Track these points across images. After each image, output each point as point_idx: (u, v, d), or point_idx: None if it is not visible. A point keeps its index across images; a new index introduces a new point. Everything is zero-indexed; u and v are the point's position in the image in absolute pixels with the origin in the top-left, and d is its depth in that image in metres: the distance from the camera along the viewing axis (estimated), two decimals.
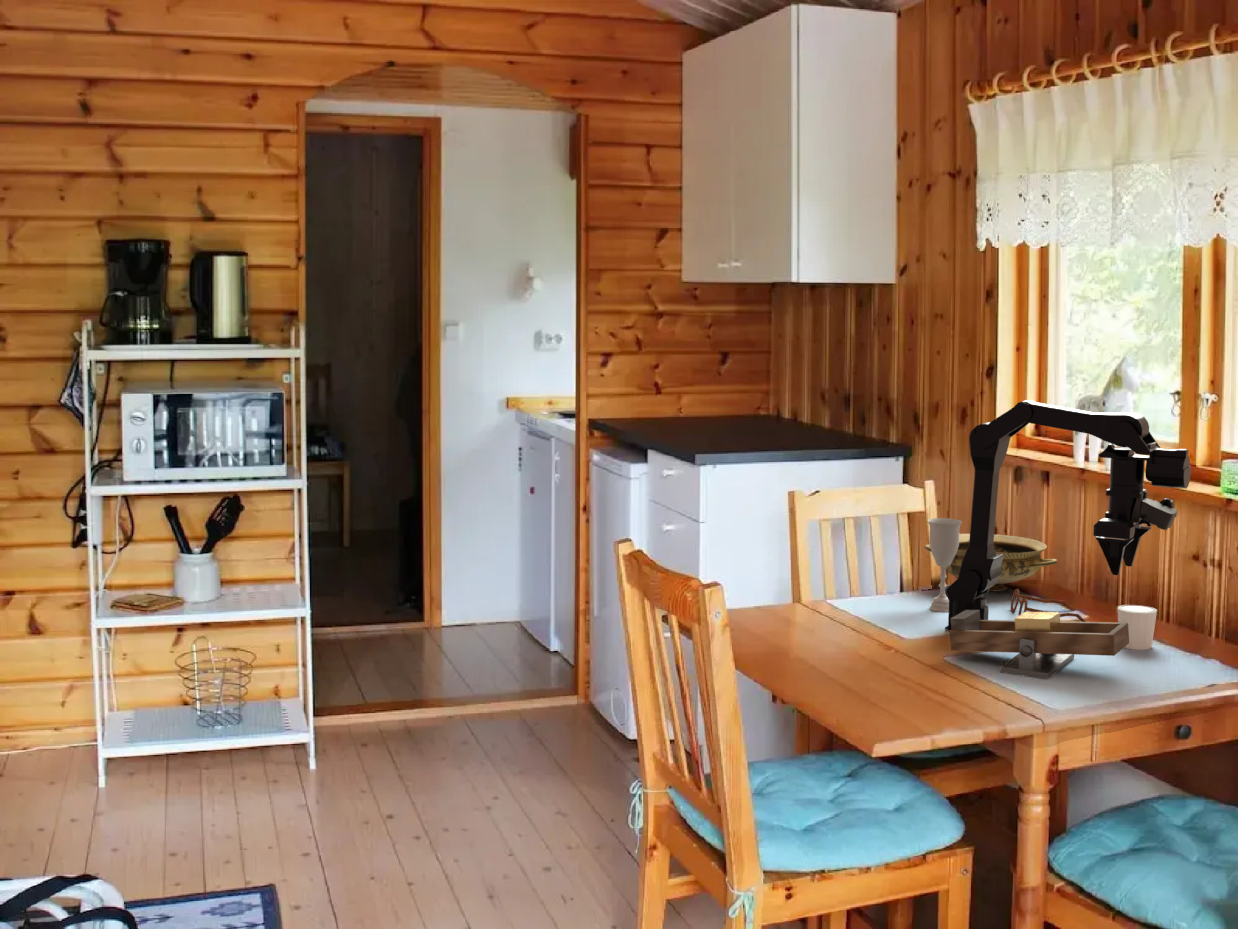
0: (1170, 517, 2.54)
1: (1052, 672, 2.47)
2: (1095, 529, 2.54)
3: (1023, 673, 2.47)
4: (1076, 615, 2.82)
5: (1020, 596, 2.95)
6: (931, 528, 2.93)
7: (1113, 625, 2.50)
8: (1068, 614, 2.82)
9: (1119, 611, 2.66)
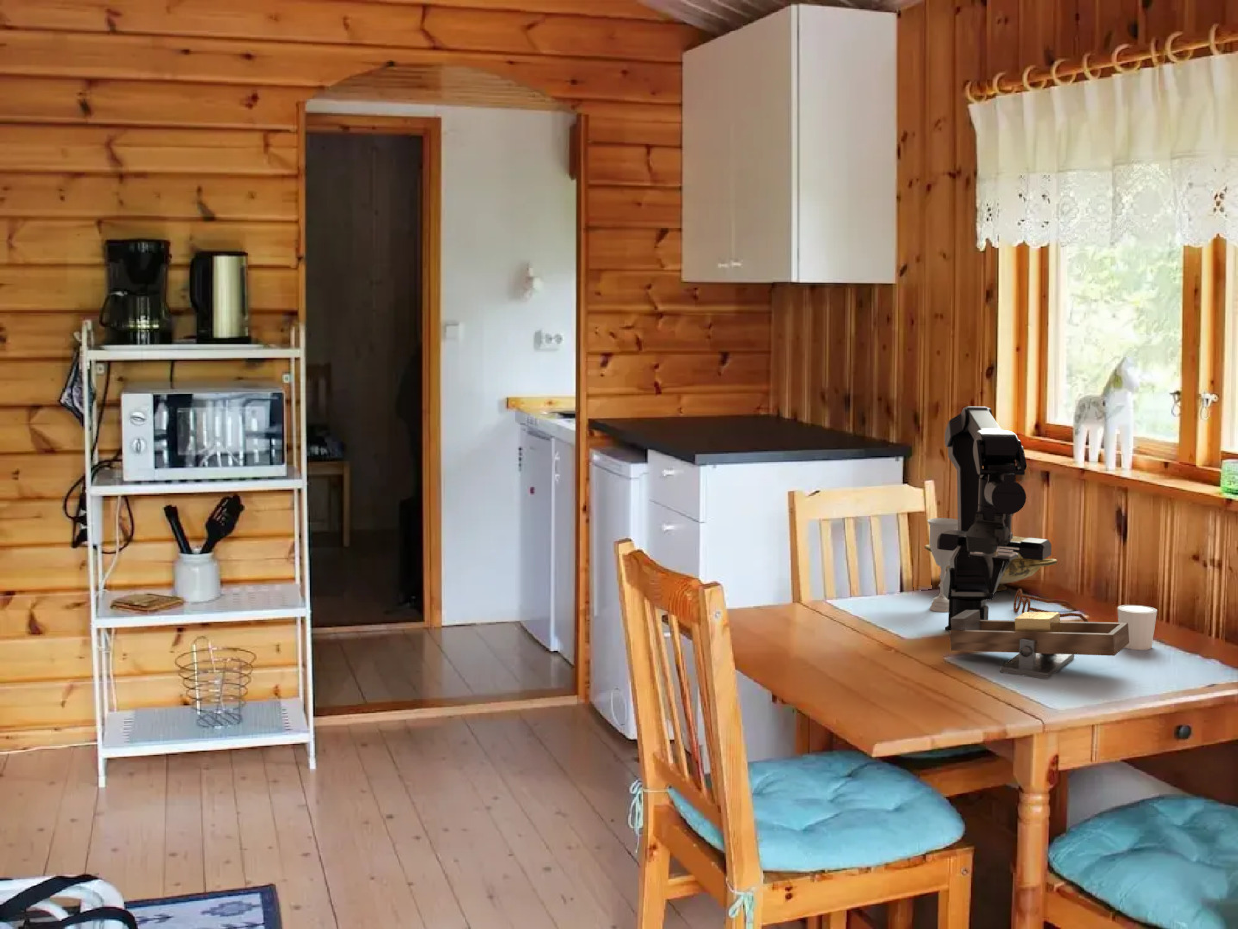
0: (967, 539, 2.49)
1: (1052, 672, 2.47)
2: None
3: (1023, 673, 2.47)
4: (1079, 615, 2.82)
5: (1023, 596, 2.95)
6: (931, 528, 2.93)
7: (1113, 625, 2.50)
8: (1071, 614, 2.82)
9: (1119, 611, 2.66)
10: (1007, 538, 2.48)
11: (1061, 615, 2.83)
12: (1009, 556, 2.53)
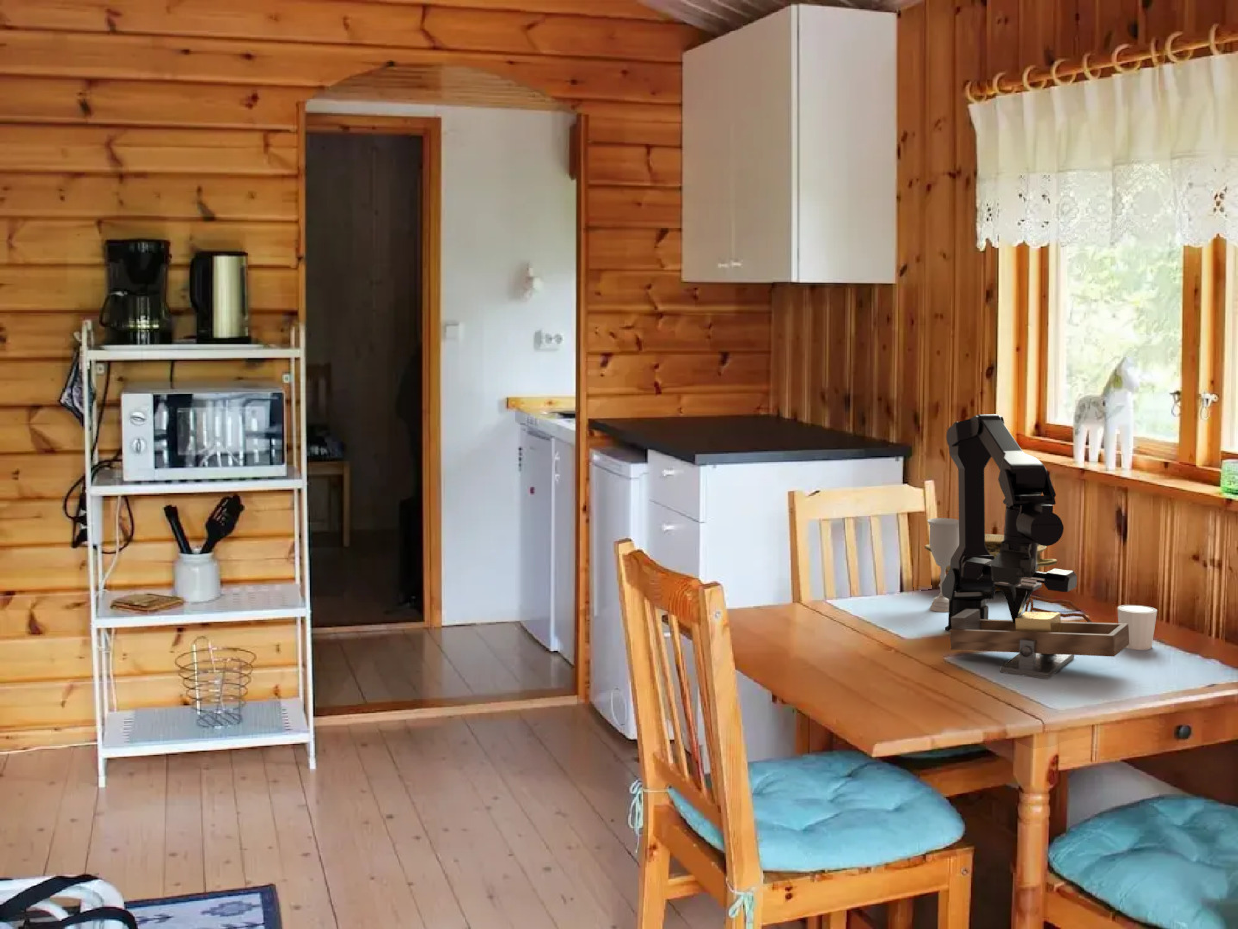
0: (992, 569, 2.47)
1: (1052, 672, 2.47)
2: None
3: (1023, 673, 2.47)
4: (1082, 615, 2.82)
5: None
6: (931, 528, 2.93)
7: (1113, 626, 2.50)
8: (1074, 614, 2.82)
9: (1119, 611, 2.66)
10: (1033, 569, 2.46)
11: (1064, 615, 2.82)
12: (1032, 586, 2.51)
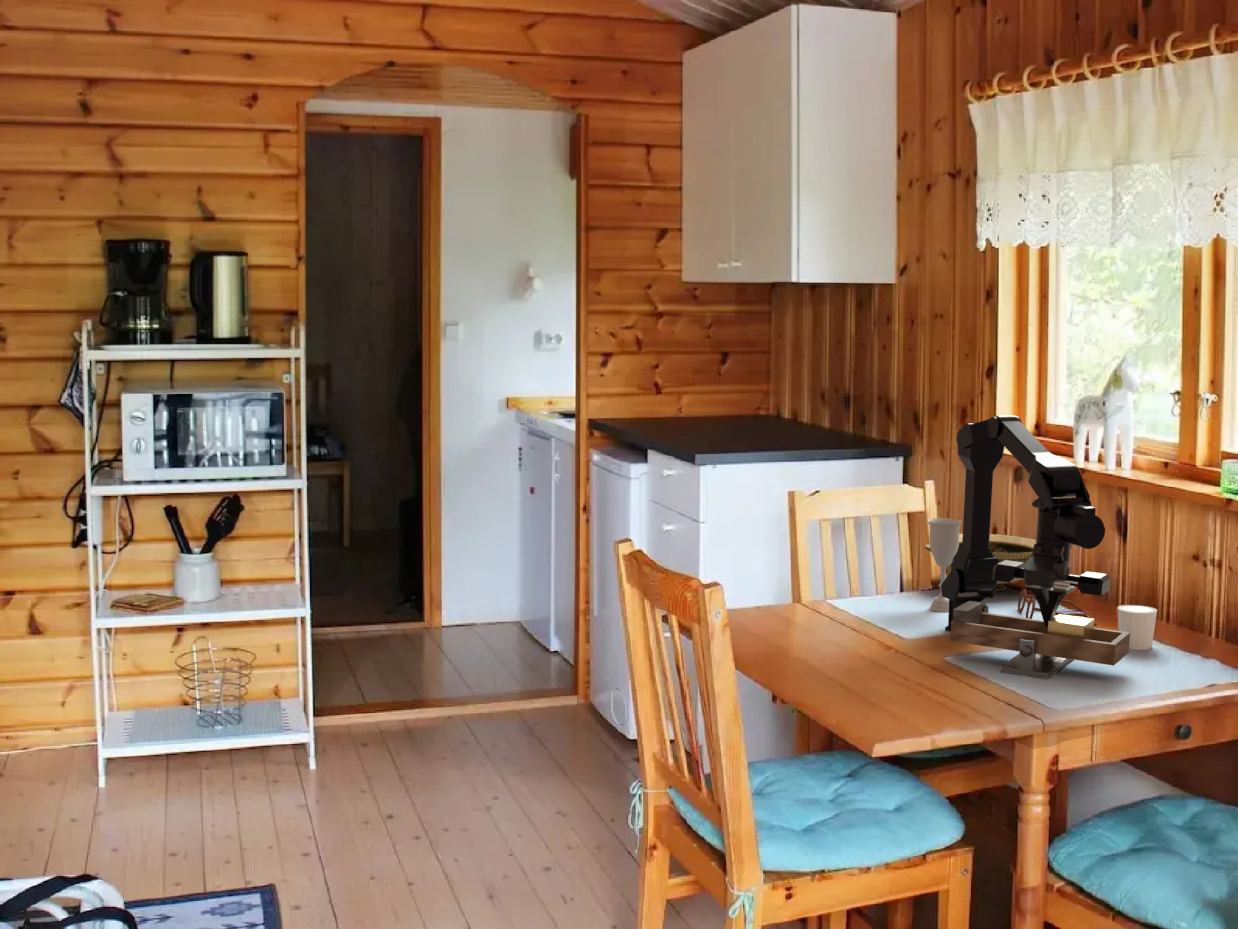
0: (1025, 572, 2.44)
1: (1052, 672, 2.47)
2: None
3: (1023, 673, 2.47)
4: (1084, 615, 2.82)
5: (1027, 596, 2.95)
6: (931, 528, 2.93)
7: (1115, 633, 2.50)
8: (1076, 614, 2.82)
9: (1119, 611, 2.66)
10: (1066, 572, 2.43)
11: None
12: (1065, 590, 2.48)
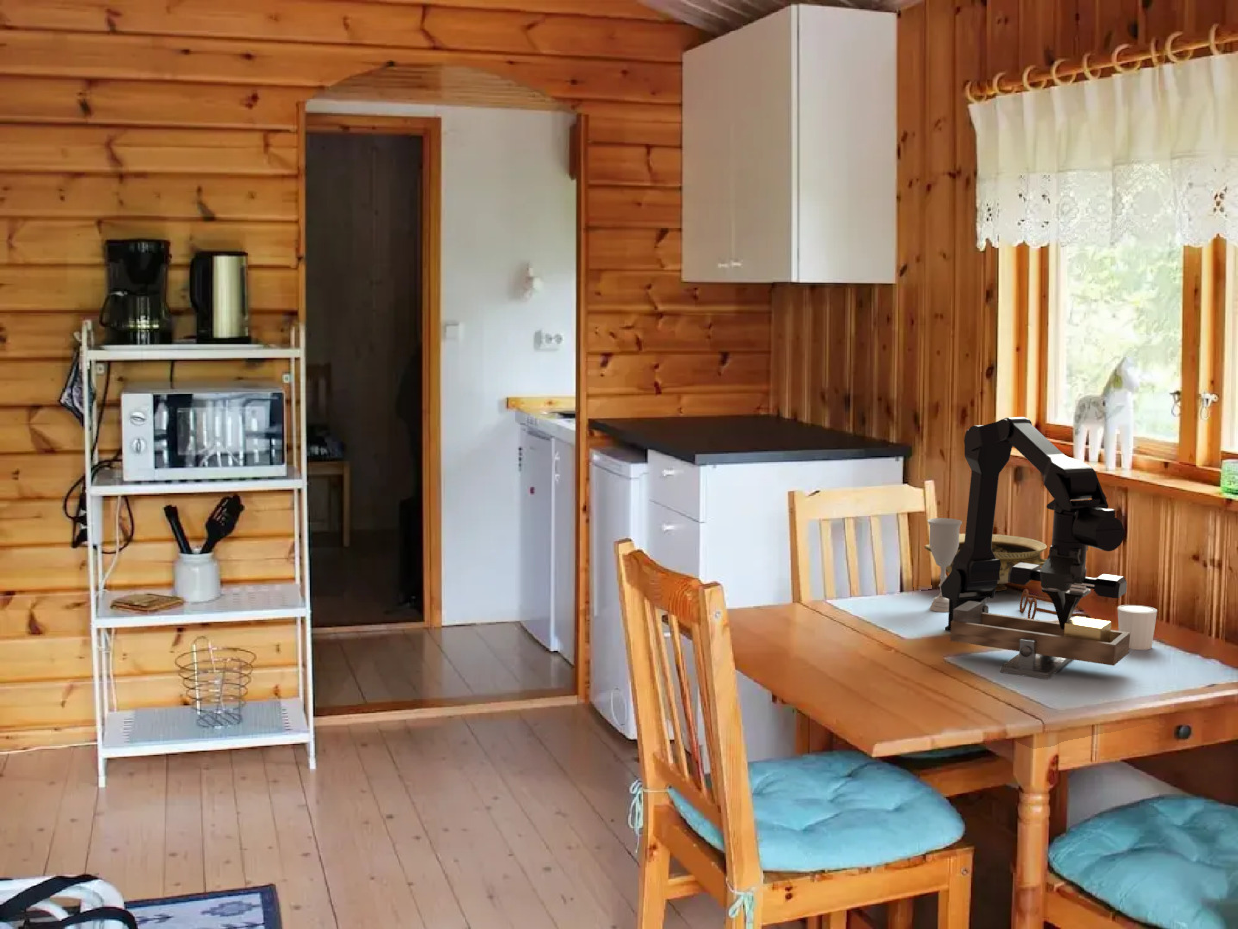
0: (1041, 575, 2.43)
1: (1052, 672, 2.47)
2: None
3: (1023, 673, 2.47)
4: (1086, 615, 2.82)
5: (1029, 596, 2.95)
6: (931, 528, 2.93)
7: (1115, 633, 2.50)
8: (1078, 614, 2.82)
9: (1119, 611, 2.66)
10: (1083, 575, 2.42)
11: None
12: (1082, 592, 2.46)
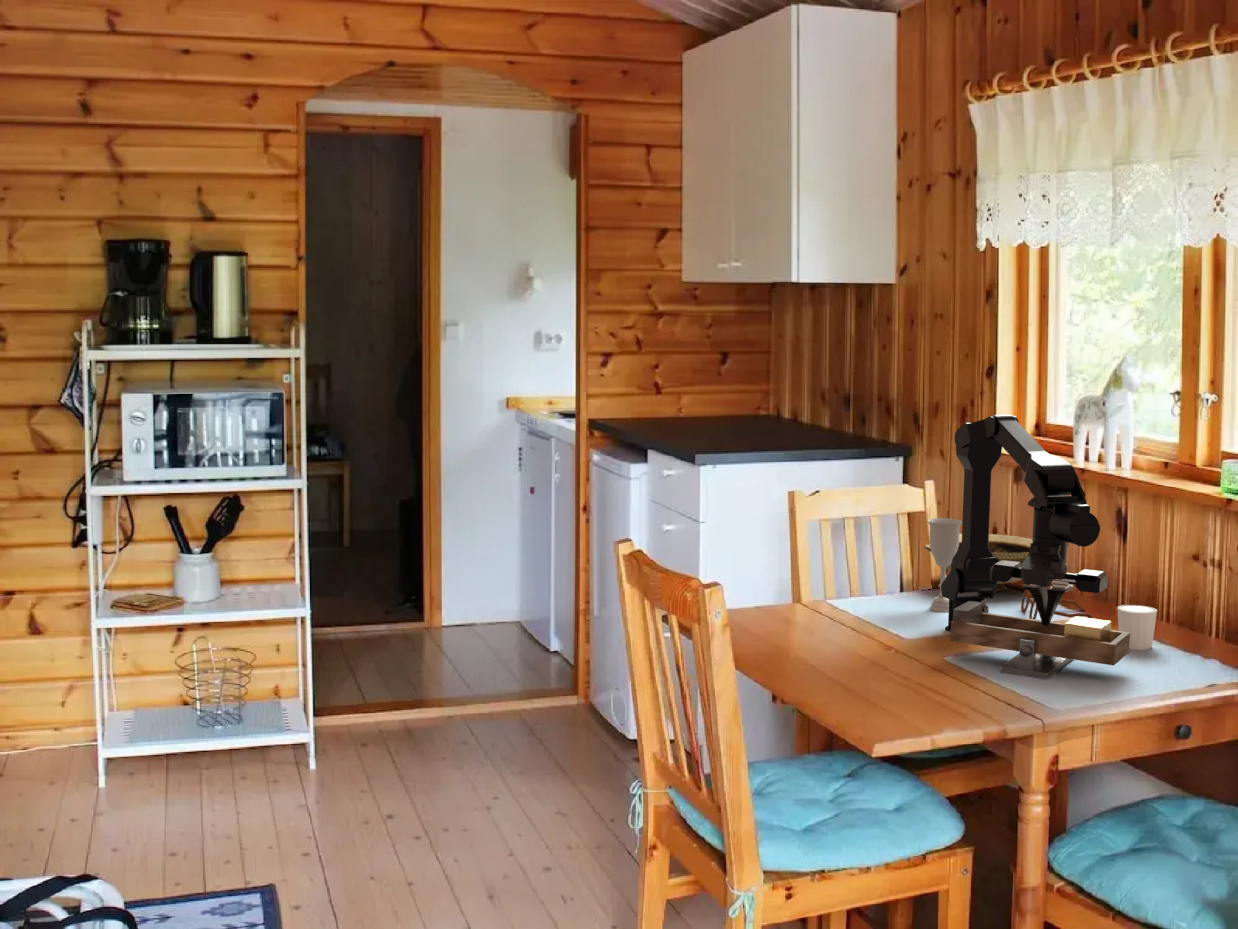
0: (1023, 571, 2.45)
1: (1052, 672, 2.47)
2: None
3: (1023, 673, 2.47)
4: (1087, 615, 2.82)
5: (1030, 596, 2.95)
6: (931, 528, 2.93)
7: (1115, 633, 2.50)
8: (1079, 614, 2.82)
9: (1119, 611, 2.66)
10: (1064, 571, 2.43)
11: (1069, 615, 2.82)
12: (1064, 588, 2.48)
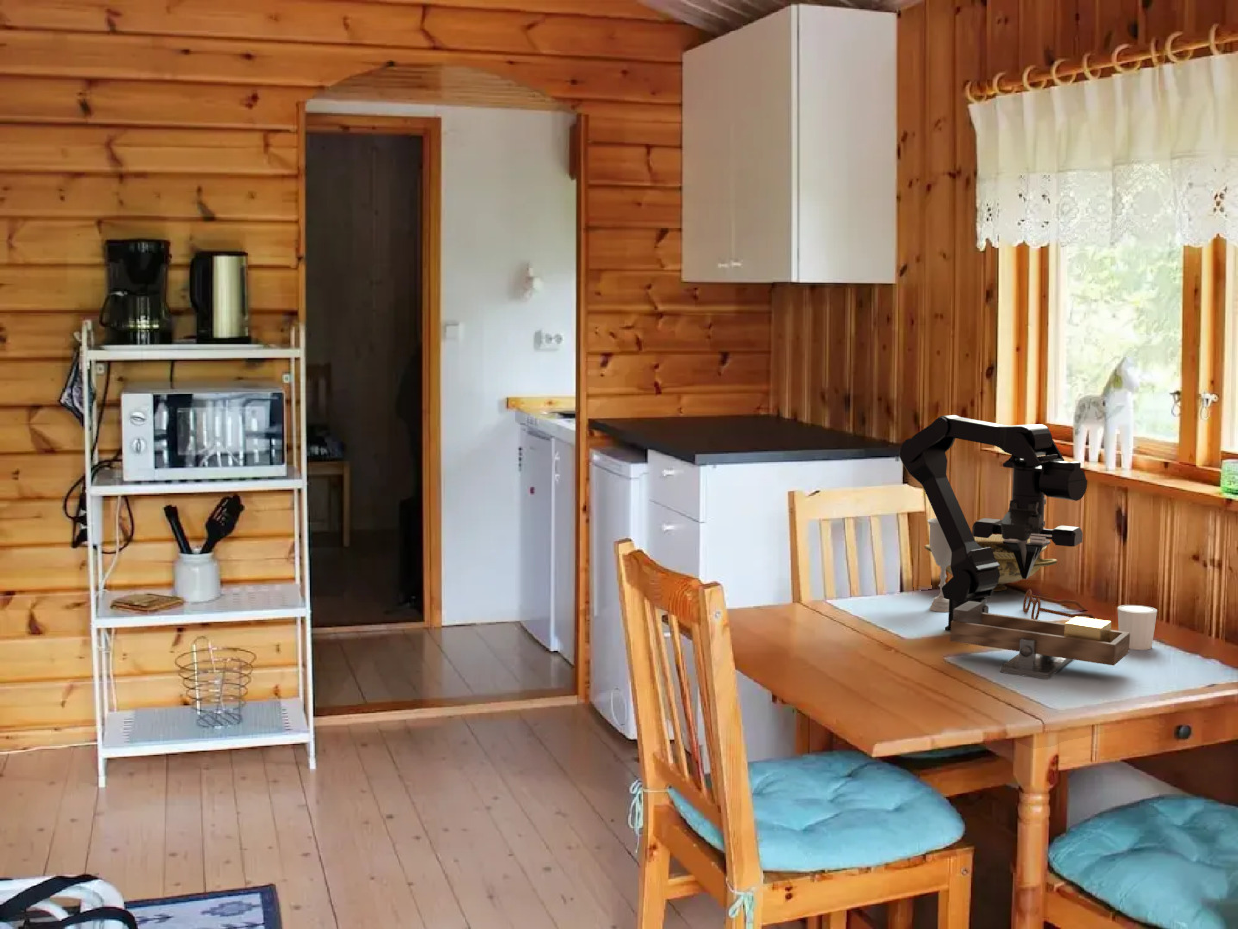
0: (1002, 526, 2.60)
1: (1052, 672, 2.47)
2: None
3: (1023, 673, 2.47)
4: (1089, 615, 2.82)
5: (1032, 596, 2.95)
6: (931, 528, 2.93)
7: (1115, 633, 2.50)
8: (1081, 614, 2.82)
9: (1119, 611, 2.66)
10: (1041, 525, 2.59)
11: (1071, 615, 2.82)
12: (1042, 543, 2.63)
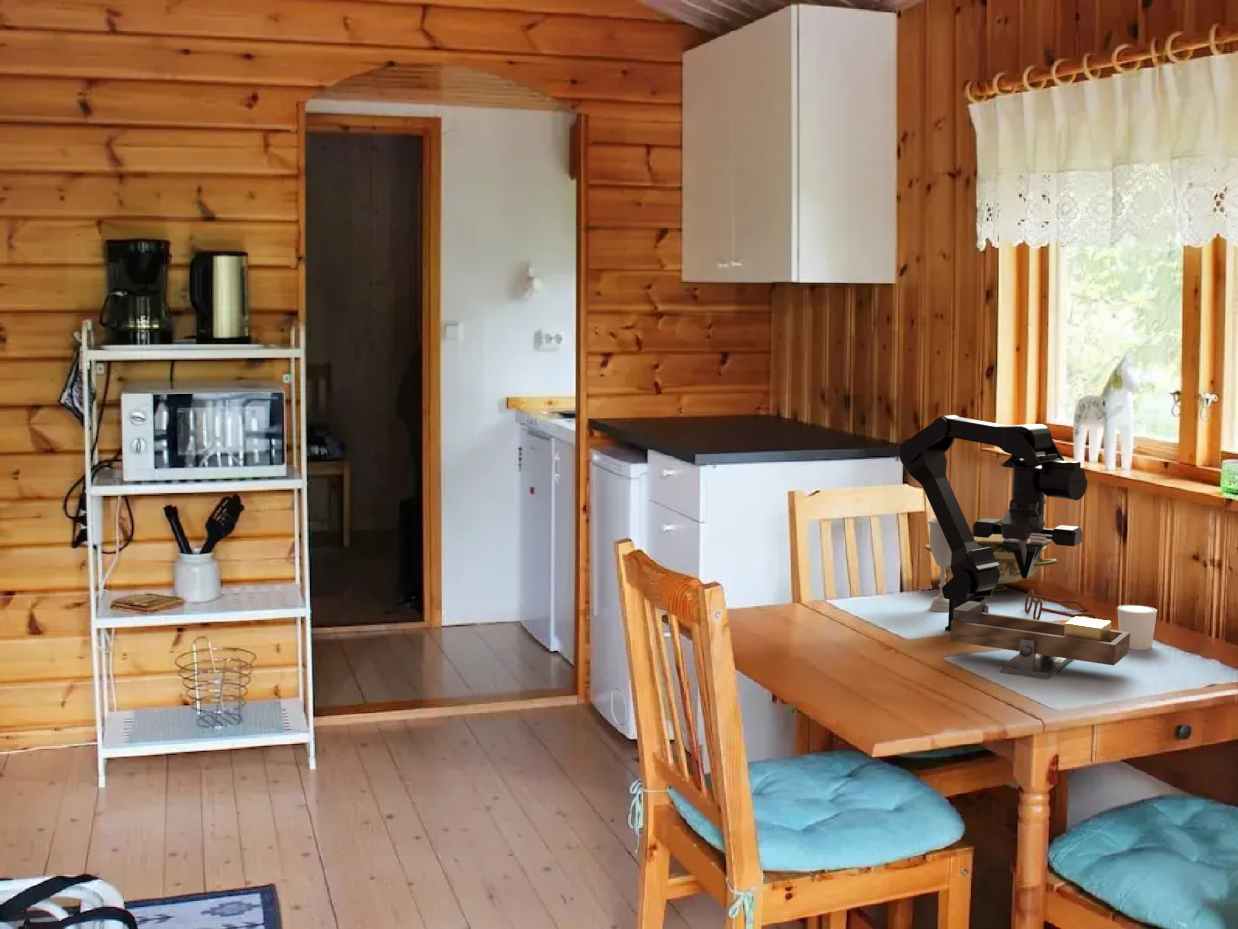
0: (1002, 526, 2.60)
1: (1052, 672, 2.47)
2: None
3: (1023, 673, 2.47)
4: (1091, 615, 2.82)
5: (1034, 596, 2.95)
6: (931, 528, 2.93)
7: (1115, 633, 2.50)
8: (1083, 614, 2.82)
9: (1119, 611, 2.66)
10: (1041, 525, 2.59)
11: (1073, 615, 2.82)
12: (1042, 543, 2.63)
